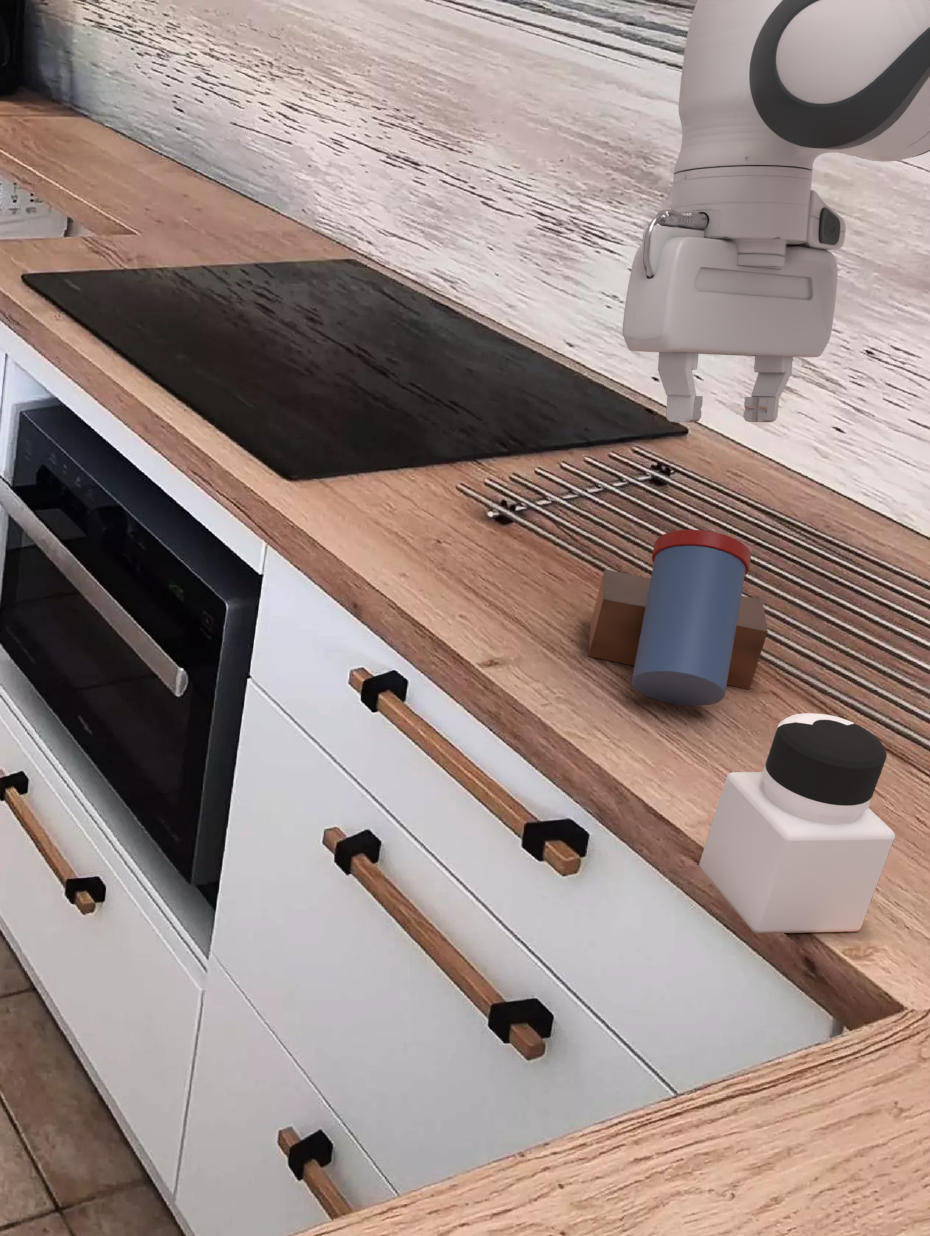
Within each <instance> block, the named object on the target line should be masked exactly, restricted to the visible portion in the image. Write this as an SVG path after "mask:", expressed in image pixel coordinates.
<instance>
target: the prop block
mask: <svg viewBox="0 0 930 1236" xmlns="http://www.w3.org/2000/svg"><path fill="white" fill-rule="evenodd" d="M650 580H651V577H647V576H641V575H636V574H633V573H632V574H631V573H626V572H621V571H616V570H611V569H604V570H603V573H602V577H601V581H600V585H599V589H598V593H597V596H596V601H595V604H594V608H593V612H592V616H591V620H590V624H589V634H588V637H589V638H588V655H587V656H588V657H590V658H595V659H599V660H604V661H608V662H609V661H610V662H615V663H619V664H624V665H630V666H633V667H634V666H635V661H636V656H637V650H638V645H639V639H640V634H641V629H642V623H643V618H644V612H645V607H646V602H647V596H648V591H649V585H650ZM768 632H769V631H768V624H767V619H766V611H765V605H764V600H763V599H759V598H755V597H750V596H744V595H742V596H741V602H740V608H739V614H738V620H737V626H736V631H735V637H734V643H733V649H732V655H731V661H730V667H729V673H728V679H727V685H726V686H732V687H735V688H740V689H741V688H742V689H746V690H750V689H751V686H752V683H753V680H754V676H755V673H756V671H757V667H758V663H759V662H760V661H759V660H760V658H761V654H762V651H763V648H764V645H765V642H766V638H767V635H768Z"/></svg>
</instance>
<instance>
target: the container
mask: <svg viewBox="0 0 930 1236" xmlns="http://www.w3.org/2000/svg"><path fill="white" fill-rule="evenodd" d="M751 558H752V553H751V551H750V549H749V547H748V546H747V545H746V544H744V543H743V542H742V541H740V540H738V539H736V538H734V537H732V536H729V535H726V534H724V533H720V532H716V531H711V530H703V529H679V530H673V531H669V532H666V533H663V534H662V535H660V536H659V537H657V538H656V540H655V542H654V544H653V549H652V555H651V561H652V563H653V565H652V570H651V576H650V578H651V580H650V585H649V591H648V596H647V602H646V607H645V612H644V618H643V623H642V629H641V634H640V639H639V645H638V650H637V656H636V661H635V666H633V673H632V678H631V684H632V686H633V688H634V689H636V690H637V691H638V692H639V693H641V694H642V695H645V696H647V697H648V698H651V699H654V700H656V701H660V702H664V703H667V704H674V705H679V706H690V707H691V706H694V707H695V706H696V707H697V706H698V707H699V706H700V707H701V706H709V705H713V704H717V703H719V702H721V701H722V700H724V698H725V696H726V690H727V686H728V685H727V679H728V673H729V667H730V661H731V655H732V649H733V643H734V637H735V631H736V626H737V620H738V614H739V608H740V602H741V596H743V589H744V583H745V577H746V576H747V574H748V573H749V571H750V564H751V560H752V559H751Z"/></svg>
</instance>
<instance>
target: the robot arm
mask: <svg viewBox="0 0 930 1236" xmlns="http://www.w3.org/2000/svg"><path fill="white" fill-rule="evenodd" d="M679 84H680V85H679V86H680V87H679V94H678V95H679V97H678V116H679V121H680V124H681V125H680V126H681V135H682V136H681V137H682V138H681V145H680V150H679V153H678V157H677V159H676V161H675V164H674V168H673V175H672V176H673V177H672V190H671V202H670V203H671V204H670V208H669V209H662V210H660V211H658V212H657V213H656V216H655V217H653V218H652V220H651V221H650V222H649V224H648V225H647V226H645V227H644V229H643V233H642V240H641V244H640V245H639V246H638V248H637V250H636V253H635V255H634V258H633V261H632V264H631V269H630V273H629V274H630V275H629V279H628V286H627V292H626V298H625V305H624V311H623V318H622V319H623V321H622V336H623V339H624V342H625V344H626V347H627V349H628V350H629V351H631V352H643V353H658V362H657V363H658V364H657V372H658V376H659V378H660V381H661V383H662V387H663V389H664V390H663V391H664V393H665V395H666V407H665V410H666V412H665V417H666V420H667V421H668V422H669V423H697V422H700V419H701V418H702V408H703V401H704V400H703V399H704V395H697V391H696V386H695V381H694V375H693V371H697V370H698V366H699V365H698V364H699V355H715V356H718V355H719V356H742V357H754V364H753V365H754V368H753V372H754V373H757V376H756V378H755V383H754V385H753V389H752V392H751V395H750V396H745V397H744V402H743V403H744V404H743V407H744V411H743V419H744V421H745V422H748V423H774V422H775V421H776V420H777V419H778V416H779V402H780V398H781V396H782V394H783V392H784V390H785V388H786V385H787V384H788V382H789V380H790V377H791V376H792V373H793V362H794V361H793V359H794V358H795V359H797V358H799V359H801V358H803V359H804V358H819V357H820V356H822V354H823V353H824V351H825V349H826V348H827V345H828V344H829V342H830V340H831V336H832V331H833V324H834V317H835V309H836V300H837V288H838V275H839V274H838V273H839V272H838V263H837V260H836V257H835V255H834V254H833V253H832V252H831V251H834V250H836V251H837V250H840V249H841V248H842V247H844V243H845V238H846V228H847V227H846V220H845V219H844V218H843V217H842V216H841V215H840V214H838V213H837V212H836V211H835V210H834V209H832V208H831V206H829V205H828V204H827V203H826V202H825V201H824V200H823V199H822V198H821V196H820V195H819V193H818V192H817V191H816V190H814V189H812V181H813V168H814V162H815V160H816V159H817V158H818V157H819V156H821V155H824V154H830V153H831V154H832V153H833V154H834V153H835V154H838V153H839V154H844V155H846V156H850V157H855V158H859V159H862V160H867V161H872V162H881V163H882V162H885V163H886V162H887V163H889V162H898V161H903V160H907V159H910V158H915V157H919V156H922V155H925V154H927V153H929V152H930V0H697V1H696V3H695V6H694V9H693V11H692V15H691V18H690V21H689V26H688V30H687V35H686V40H685V46H684V52H683V60H682V68H681V76H680V83H679Z"/></svg>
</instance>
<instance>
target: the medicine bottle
mask: <svg viewBox="0 0 930 1236" xmlns="http://www.w3.org/2000/svg"><path fill="white" fill-rule="evenodd" d="M887 754H888V753H887V751H886V749H885V747H884V745H883V743H882V742H881V740H880V739H879V738H878V737H877V736H876V735H875V734H873V733H872V732H871V731H870V730H867V729H866V728H864V727H863V726H861V725H859V724H857V723H855V722H853V721H851V720H849V719H845V718H843V717H839V716H835V715H831V714H826V713H813V712H802V713H795V714H792V715H790V716H787V717H786V718H784V719H782V720H781V721H780V722H779V723H778V725H777V727H776V730H775V733H774V736H773V739H772V743H771V746H770V748H769V751H768V755H767V758H766V760H765V762H764V763H765V764H764V767H763V769H762V771H732V772H729V773H728V774H727V775H726V778H725V781H724V784H723V787H722V791H721V793H720V796H719V799H718V803H717V805H716V809H715V812H714V816H713V818H712V822H711V825H710V828H709V830H708V835H707V838H706V841H705V844H704V847H703V851H702V852H701V857H700V860H699V863H698V867H699V869H700V870H701V871H702V873H703V874H704V876H706V877H707V878H708V880H709V881H710V882H711V884H712V885H713V886H714V887H715V888H716V889H717V890H718V893H720V894H721V896H722V897H723V898H724V899H725V900H726V901H727V903H728V904H729V905H730V906H731V908H733V910H734V911H735V912H736V913H737V914H738V916H739V917H740V918H741V919H742V920H743V921H744V923H745V924H746V925H747V926H748V928H749V929H750V930H751V931H752V932H753V933H754V934H757V935H759V934H761V935H762V934H799V933H800V934H801V933H803V934H804V933H839V932H842V933H843V932H858V931H860V929H861V928H862V926H863V924H864V921H865V919H866V916H867V913H868V911H869V908H870V905H871V903H872V900H873V896H874V894H875V892H876V889H877V887H878V884H879V881H880V879H881V876H882V874H883V871H884V868H885V865H886V862H887V860H888V857H889V855H890V851H891V850H892V847H893V844H894V841H895V839H896V833H895V832H894V831H893V829H892V828H890V826H888V825H887V824H886V823H885V822H884V820H883V819H881V818H880V817H879V816H878V815H877V814H876V813H875V812H873V810H872V809H870V804H871V802H872V799H873V796H874V793H875V790H876V787H877V785H878V782H879V779H880V778H881V777H880V776H881V774H882V772H883V768H884V766H885V764H886V763H885V762H886V761H887V757H888V756H887Z"/></svg>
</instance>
